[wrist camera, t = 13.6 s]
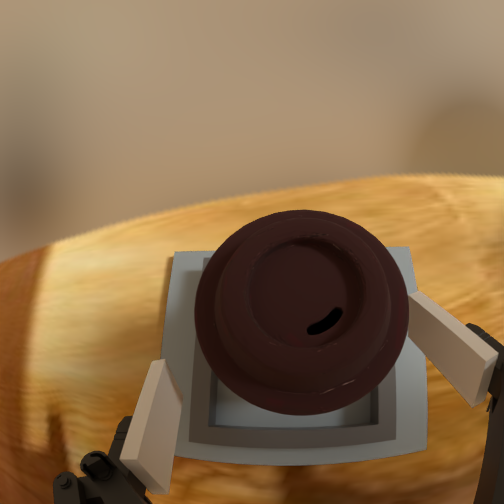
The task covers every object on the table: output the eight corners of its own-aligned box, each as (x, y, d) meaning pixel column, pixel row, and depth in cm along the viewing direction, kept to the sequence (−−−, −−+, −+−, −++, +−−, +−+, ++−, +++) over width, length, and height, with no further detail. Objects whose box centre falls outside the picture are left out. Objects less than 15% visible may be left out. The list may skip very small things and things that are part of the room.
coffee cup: (241, 297, 28) (197, 192, 15) (350, 296, 27) (399, 188, 13) (235, 407, 23) (170, 409, 10) (354, 405, 22) (434, 403, 9)
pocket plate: (406, 251, 29) (417, 234, 26) (422, 448, 20) (438, 452, 17) (177, 256, 32) (166, 239, 29) (158, 450, 22) (142, 455, 19)
